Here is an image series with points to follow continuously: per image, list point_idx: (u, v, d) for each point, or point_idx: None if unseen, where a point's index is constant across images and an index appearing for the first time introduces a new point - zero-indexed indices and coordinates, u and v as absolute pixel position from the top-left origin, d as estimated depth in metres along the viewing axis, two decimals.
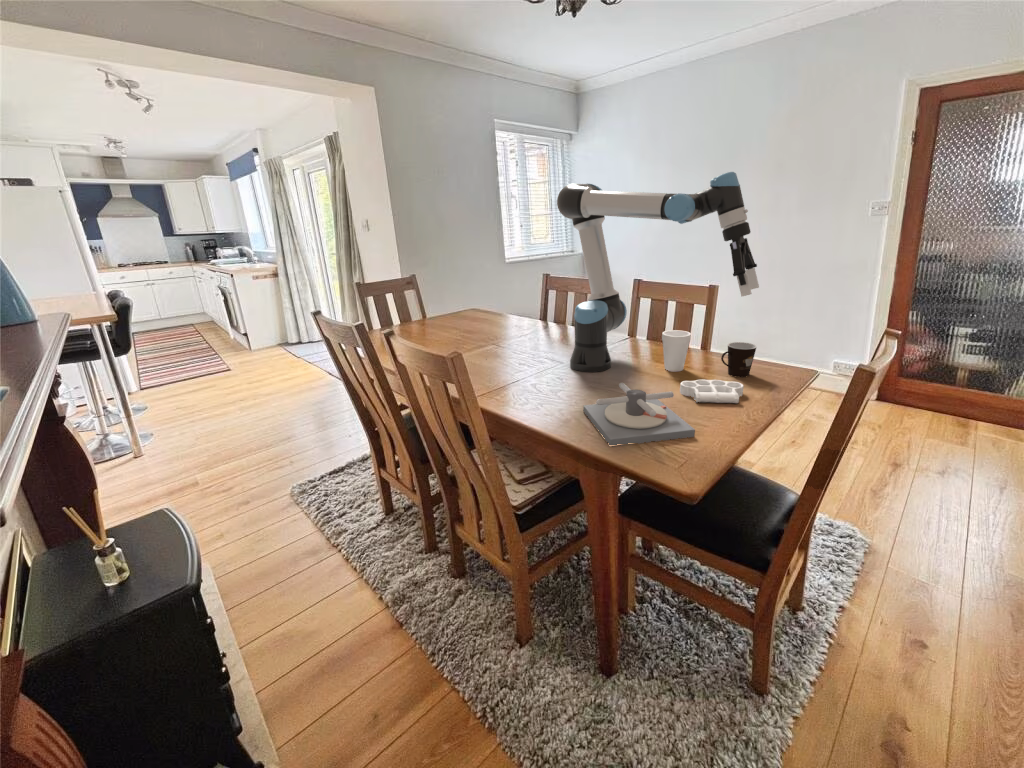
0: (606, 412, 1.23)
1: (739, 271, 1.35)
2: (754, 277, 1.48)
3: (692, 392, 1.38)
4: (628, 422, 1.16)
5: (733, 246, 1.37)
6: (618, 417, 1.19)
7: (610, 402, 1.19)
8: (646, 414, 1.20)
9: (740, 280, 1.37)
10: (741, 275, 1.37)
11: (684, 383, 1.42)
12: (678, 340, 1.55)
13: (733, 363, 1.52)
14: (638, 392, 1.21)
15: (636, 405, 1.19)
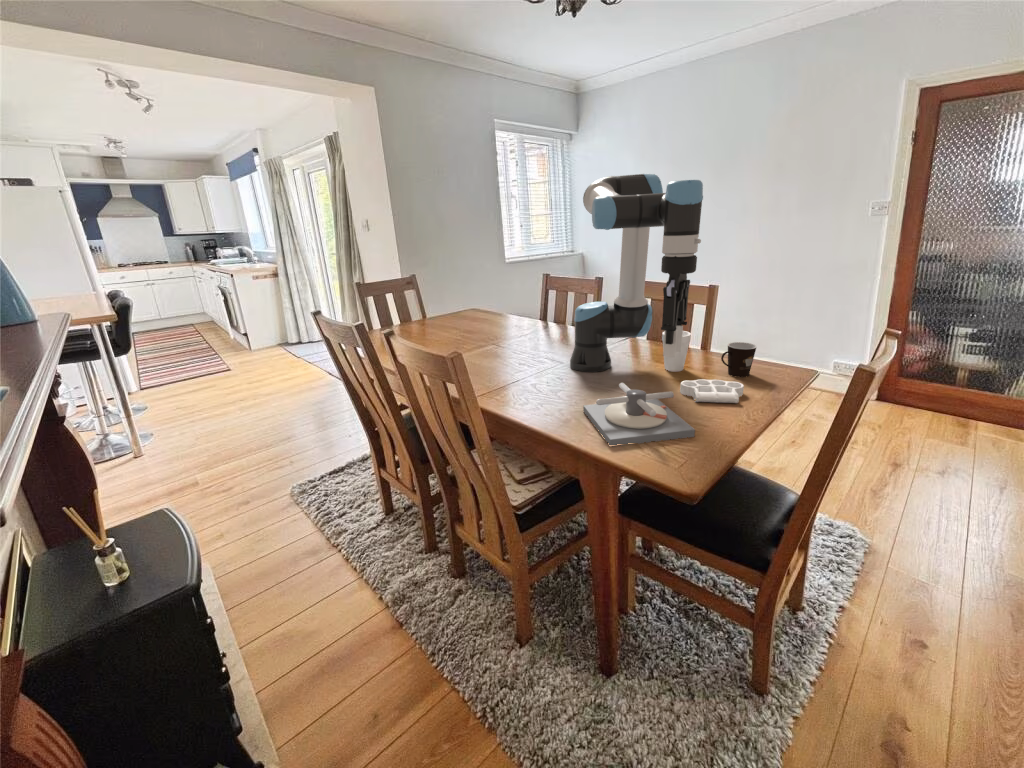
0: (606, 412, 1.23)
1: (668, 328, 1.04)
2: (679, 338, 1.11)
3: (692, 392, 1.38)
4: (628, 422, 1.16)
5: (667, 293, 1.01)
6: (618, 417, 1.19)
7: (610, 402, 1.19)
8: (646, 414, 1.20)
9: (667, 337, 1.07)
10: (670, 332, 1.06)
11: (684, 383, 1.43)
12: None
13: (733, 363, 1.52)
14: (638, 392, 1.21)
15: (636, 405, 1.19)
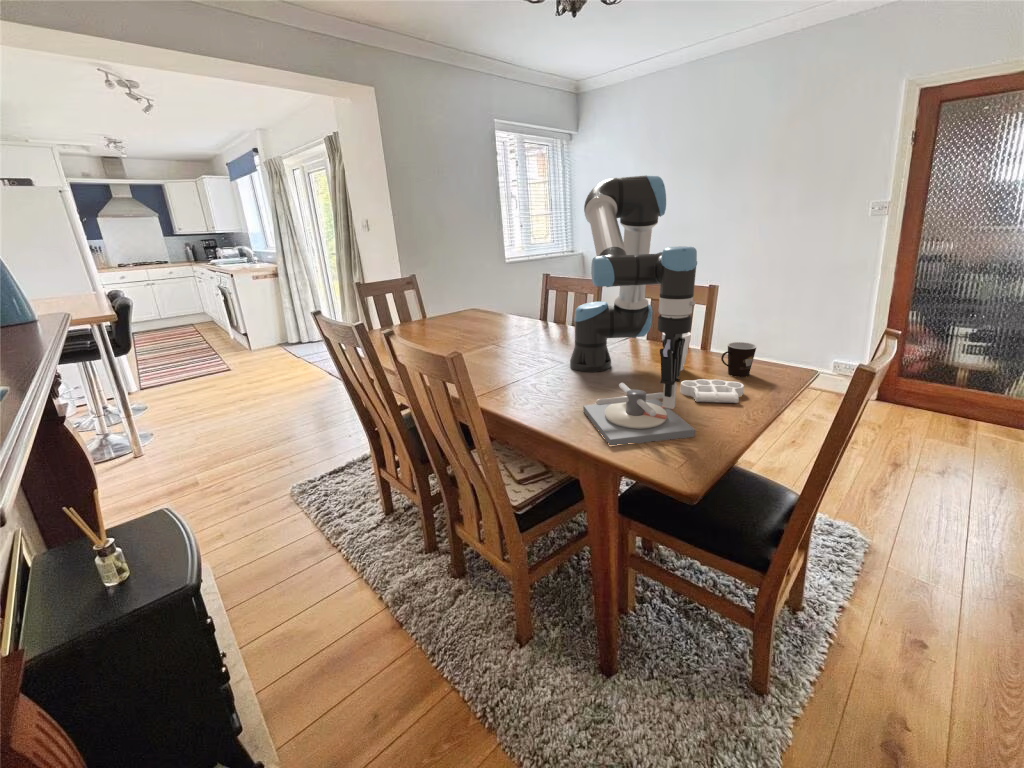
0: (606, 412, 1.23)
1: (667, 383, 1.11)
2: None
3: (692, 392, 1.38)
4: (628, 422, 1.16)
5: (663, 355, 1.07)
6: (618, 417, 1.19)
7: (610, 402, 1.19)
8: (646, 414, 1.20)
9: (666, 390, 1.13)
10: (668, 386, 1.12)
11: (684, 382, 1.43)
12: None
13: (733, 363, 1.52)
14: (638, 392, 1.21)
15: (636, 405, 1.19)
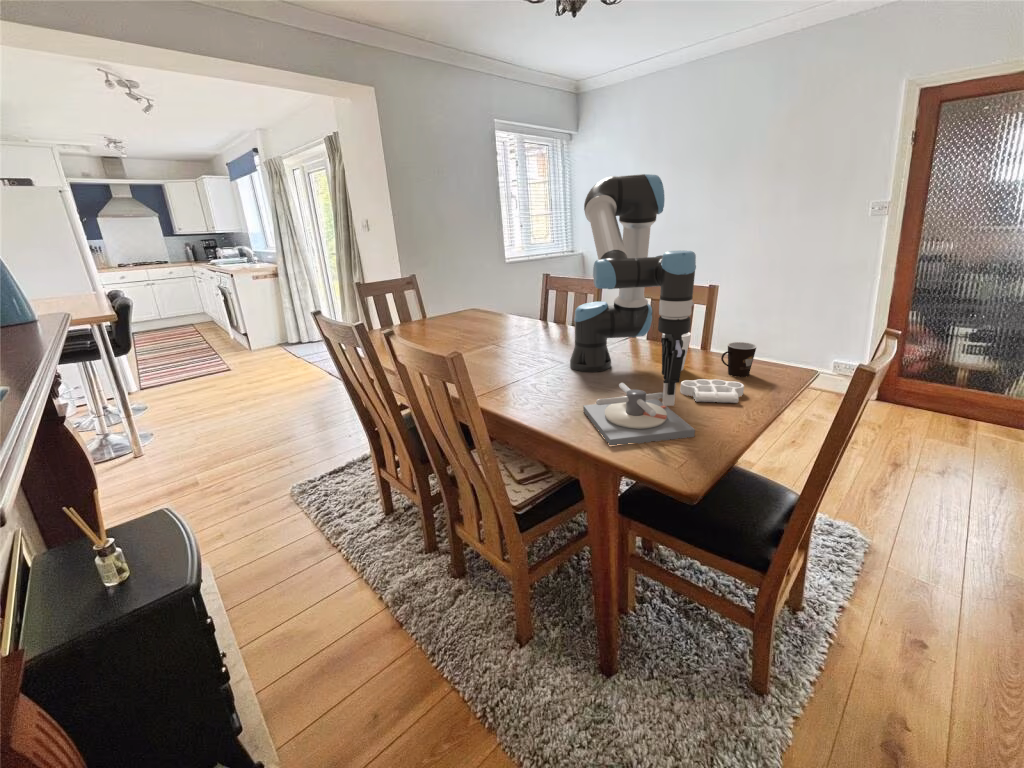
0: (606, 412, 1.23)
1: (675, 382, 1.15)
2: None
3: (692, 391, 1.38)
4: (628, 422, 1.16)
5: (677, 355, 1.10)
6: (618, 417, 1.19)
7: (610, 402, 1.19)
8: (646, 414, 1.20)
9: (670, 389, 1.17)
10: (672, 384, 1.17)
11: (684, 382, 1.43)
12: None
13: (733, 363, 1.52)
14: (638, 392, 1.21)
15: (636, 405, 1.19)
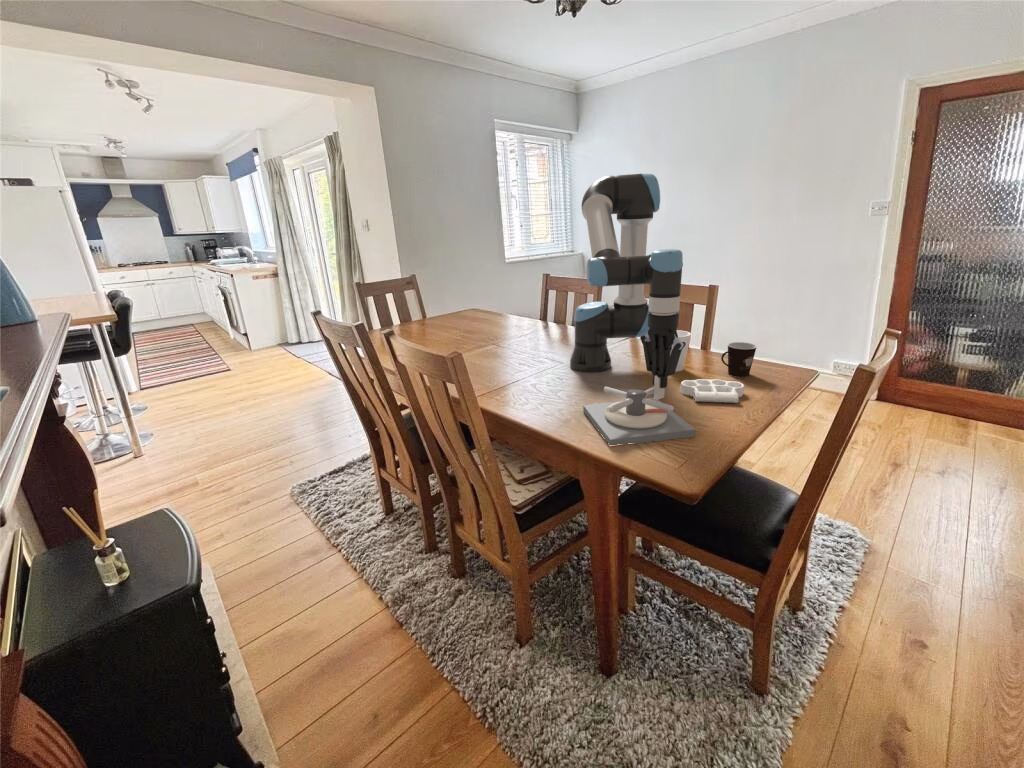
0: (612, 418, 1.19)
1: (671, 374, 1.20)
2: None
3: (692, 391, 1.38)
4: (644, 423, 1.15)
5: (679, 348, 1.15)
6: (629, 420, 1.17)
7: (621, 407, 1.16)
8: (648, 411, 1.21)
9: (664, 382, 1.22)
10: (666, 377, 1.22)
11: (685, 382, 1.43)
12: None
13: (733, 363, 1.52)
14: (636, 391, 1.21)
15: (641, 405, 1.19)
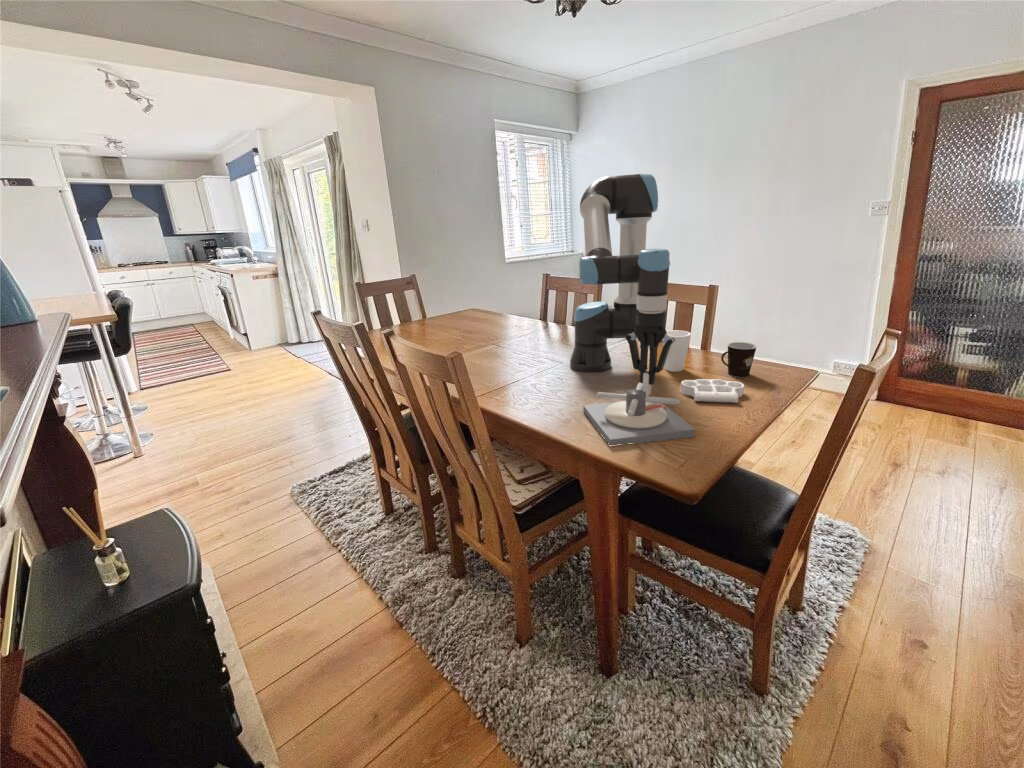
0: (624, 422, 1.16)
1: (660, 370, 1.23)
2: None
3: (692, 391, 1.38)
4: (655, 420, 1.16)
5: (671, 344, 1.19)
6: (641, 421, 1.16)
7: (635, 409, 1.14)
8: (646, 409, 1.23)
9: (653, 379, 1.25)
10: (655, 373, 1.25)
11: (685, 382, 1.43)
12: (678, 340, 1.55)
13: (733, 363, 1.52)
14: (635, 391, 1.21)
15: (644, 403, 1.19)
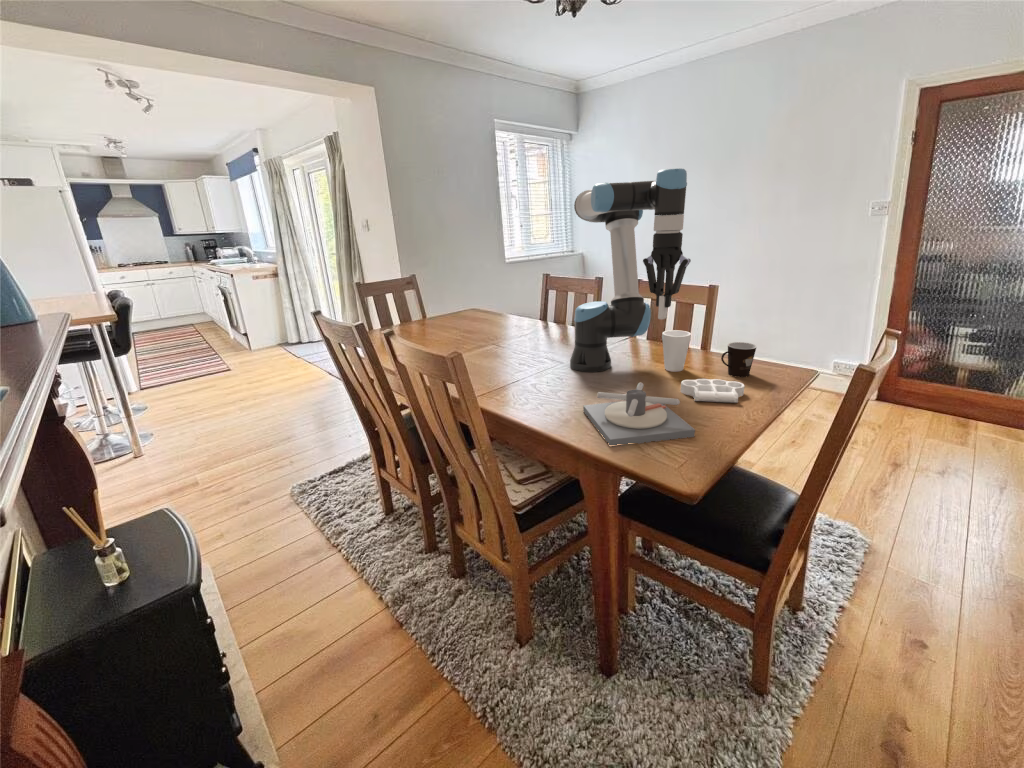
0: (624, 422, 1.16)
1: (676, 292, 1.27)
2: None
3: (692, 391, 1.39)
4: (655, 420, 1.16)
5: (686, 264, 1.22)
6: (641, 421, 1.16)
7: (635, 409, 1.14)
8: (646, 409, 1.23)
9: (669, 301, 1.28)
10: (670, 296, 1.28)
11: (685, 382, 1.43)
12: (679, 340, 1.55)
13: (733, 363, 1.52)
14: (635, 391, 1.21)
15: (644, 403, 1.19)
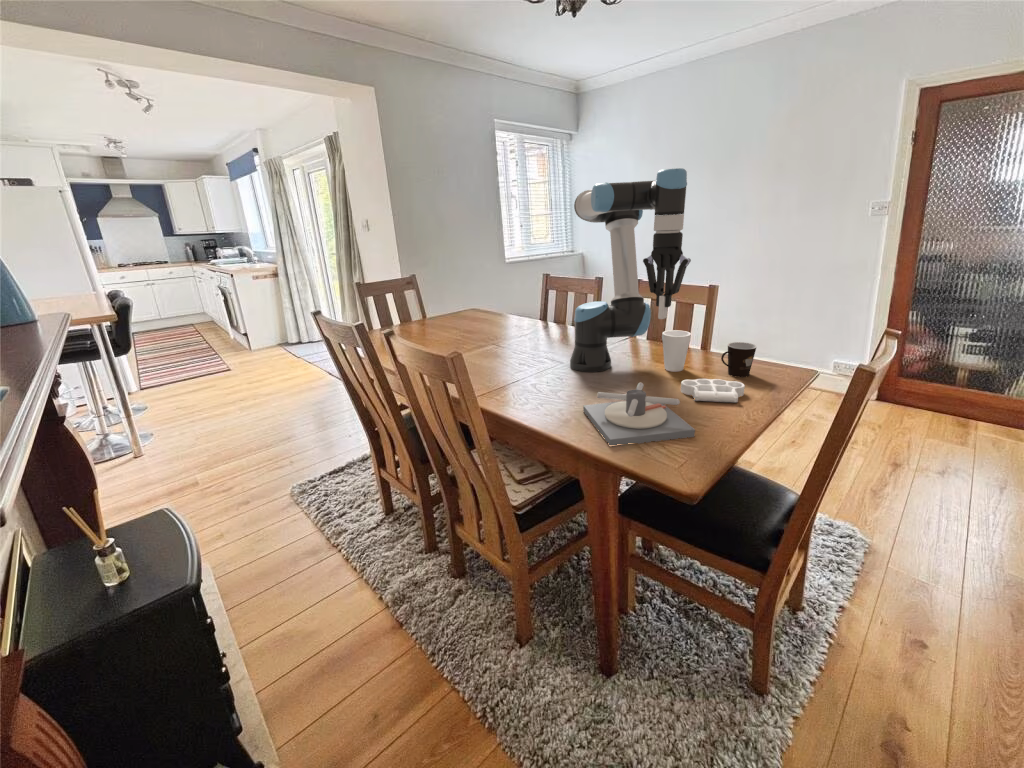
0: (624, 422, 1.16)
1: (676, 292, 1.27)
2: None
3: (692, 391, 1.39)
4: (655, 420, 1.16)
5: (686, 264, 1.22)
6: (641, 421, 1.16)
7: (635, 409, 1.14)
8: (646, 409, 1.23)
9: (669, 301, 1.28)
10: (670, 296, 1.28)
11: (685, 382, 1.43)
12: (679, 340, 1.55)
13: (733, 363, 1.52)
14: (635, 391, 1.21)
15: (644, 403, 1.19)
